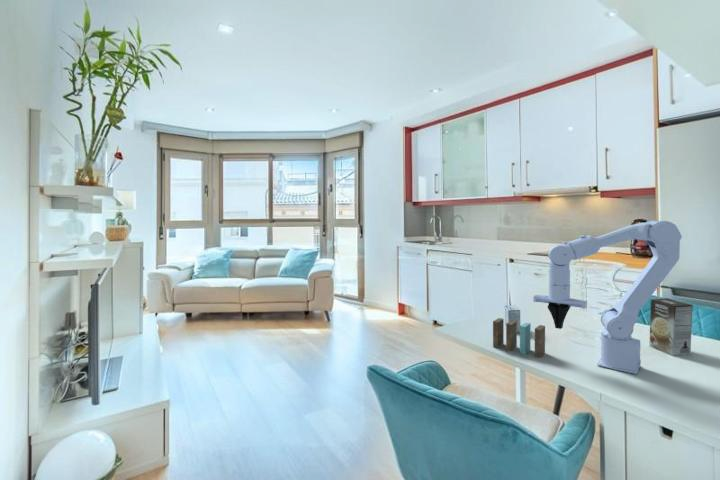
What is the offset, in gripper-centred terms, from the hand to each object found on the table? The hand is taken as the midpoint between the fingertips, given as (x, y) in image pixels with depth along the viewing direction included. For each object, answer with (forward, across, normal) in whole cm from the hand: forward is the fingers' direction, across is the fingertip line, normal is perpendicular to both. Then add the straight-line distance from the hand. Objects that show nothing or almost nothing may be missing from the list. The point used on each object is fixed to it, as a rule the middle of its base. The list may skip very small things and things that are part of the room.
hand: (558, 327), depth 115 cm
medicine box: (+10, +22, -21) cm, 32 cm away
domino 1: (+10, +14, 0) cm, 18 cm away
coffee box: (+10, -25, -29) cm, 40 cm away
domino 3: (+10, +6, 0) cm, 11 cm away
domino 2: (+10, +10, 0) cm, 14 cm away
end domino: (+10, +19, 0) cm, 21 cm away
